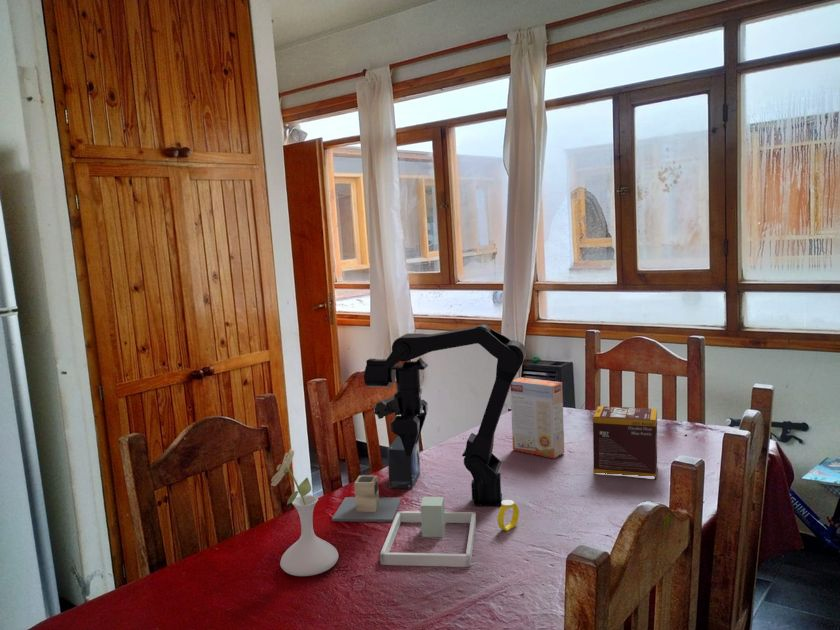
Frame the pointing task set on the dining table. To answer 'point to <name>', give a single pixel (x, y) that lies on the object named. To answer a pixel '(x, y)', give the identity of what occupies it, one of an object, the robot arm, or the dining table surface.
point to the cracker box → (537, 417)
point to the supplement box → (625, 441)
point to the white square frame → (428, 558)
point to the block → (433, 517)
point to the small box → (403, 465)
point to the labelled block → (366, 493)
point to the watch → (505, 505)
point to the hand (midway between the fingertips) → (412, 449)
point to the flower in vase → (304, 532)
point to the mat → (382, 513)
